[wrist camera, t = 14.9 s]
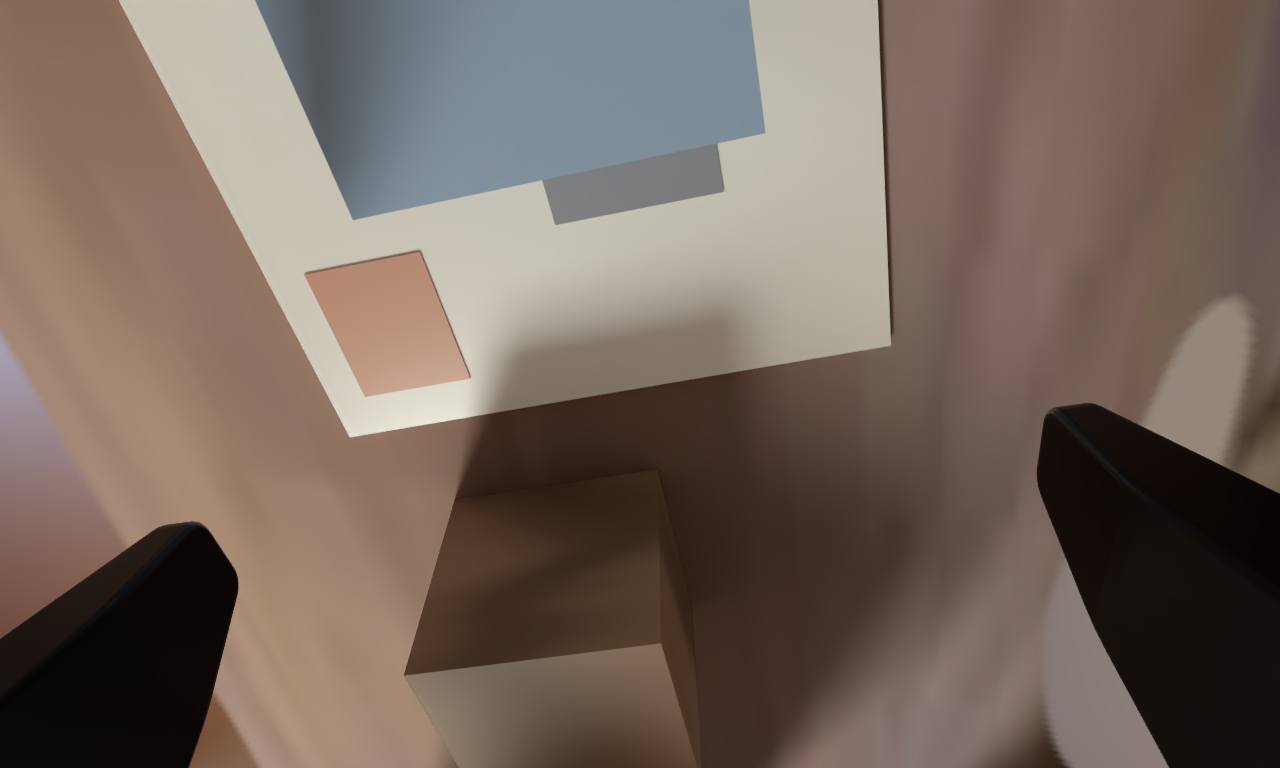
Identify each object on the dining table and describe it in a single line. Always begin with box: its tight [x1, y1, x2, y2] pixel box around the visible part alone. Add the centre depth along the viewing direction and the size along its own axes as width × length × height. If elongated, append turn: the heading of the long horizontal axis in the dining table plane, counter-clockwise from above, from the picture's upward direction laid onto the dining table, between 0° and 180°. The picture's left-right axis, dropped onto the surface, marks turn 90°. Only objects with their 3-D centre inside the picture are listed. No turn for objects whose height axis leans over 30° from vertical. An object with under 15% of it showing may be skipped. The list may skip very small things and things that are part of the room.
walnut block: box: [404, 469, 702, 768], centre depth 18 cm, size 5×5×5 cm
